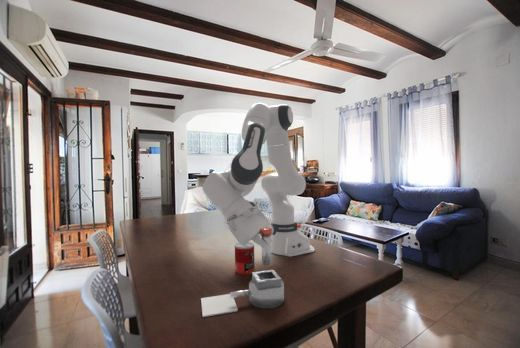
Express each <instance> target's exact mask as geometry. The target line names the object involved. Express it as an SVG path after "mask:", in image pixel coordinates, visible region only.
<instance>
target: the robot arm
mask: <svg viewBox="0 0 520 348" xmlns="http://www.w3.org/2000/svg"><path fill="white" fill-rule="evenodd" d="M293 122H294V113H293V111H292V107H290V106H289V105H288V104H284V103H283V104H282V103H281V104H278V105H277V104H276V105H269V106H268V105H267V104H265V103H262V102H257V103H254V104H252V106H250V108H249V110H248V112H247V113H246V115H245V118H244V120H243V123H242V127H241V138H242V140H243V141H244V142H243V145H242V148H241V150H240V151H239V152H238V153H237V154H236V155H235V156H234V157H233V158H232V161H231V164H230V170H227V171H216V170H214V171H211V172H210V173H209V174H208V175H207V176H206V177H205V178H204V180H203V182H202V191H203V193H204V194H205V196H206V198H207V199H208V200H209V201H210V203H211V204H213V206H214V207H215V208H217V209H218V210H219V211H220V213H221V215H222V216H223V217H224V218H225V219H226V224H227V226H228V229H229V231H230V233H231V235H232V236H233V237H234V238H235V239H236V241H237V243H240V244H242V245H245V244H247V243H248V242H250V241H252V242H253V243H255V244H257V245H258V246H260V247H261V249H262V248H263V249H265V248H266V247H267V246H268V243H267V242H266V241H265V240H263V239H262V235H261V234H260V229H261V228H268V226H269V225H270V224H271V225H270V228H272V234H271V254H273V255H279V256H285V257H290V258H292V257H295V256H300V255H305V254H309V253H314V252H315V247H314V246H313V245H311V243H310V240H309V237H308V236H307V235H305V234H304V233H303V232H302V231H301V230H299V229H301V227H302V224H300V223H296V221H295V208H294V205H293V204H292V203H291V202H290V201H289V200H288V197H289V196H290V197H291V196H292V197H293V196H298V195H302V194H303V193H304V191H305V190H306V188H307V187H306V186H307V183H306V179H305V177H304V176H303V175H302V174H300V172H299V171H298V169H297V168H296V166H295V165H294V162H293V158H292V152H291V145H290V138H289V134H288V130H289V128H291V127H292V125H293ZM265 143H266V146H267V156H268V157H267V158H268V163H269V164H270V165H272V167H274V168H275V171H276V172H272V173H268V174H265V175H264V176H263V177H262V179H261V183H260V184H261V188H262V190H263V192H265V193H266V196H267V197H268V200H269V204H270V207H271V223H270V220H269V219H268V218H267V217H266V216H265V215H266V214H264V213H263V212H262V211H261V210H260V209H259V208H257V206H258V205H257V204H256V203H255V202H254V201H250V200H248V199H245V198H244V197H246V196H248V195H249V194H250V193H251V192H252V191H253V190H254V188H255V186H256V184H257V182H258V181H259V178H260V177H261V175H262V174H263V171H264V166H263V165H264V164H263V161H262V156H261V152H262V147H263V145H264V144H265ZM287 196H288V197H287Z"/></svg>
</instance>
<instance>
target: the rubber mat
mask: <svg viewBox="0 0 520 348" xmlns="http://www.w3.org/2000/svg"><path fill="white" fill-rule="evenodd" d="M200 301H201V303H200V304H201V312H202V313H201V314H202V318H207V317H211V316H213V317H214V316H217V315H218V316H219V315H224V314H229V313H230V314H231V313H236V312H238V311H239V310H238V306H237V304H236V300H235V297H234V298H230V293H227V294H219V295H214V296H207V297H201V298H200Z"/></svg>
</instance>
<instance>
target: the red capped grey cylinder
mask: <svg viewBox="0 0 520 348" xmlns="http://www.w3.org/2000/svg"><path fill="white" fill-rule="evenodd" d="M260 234H261V235H262V236H261V235H260ZM260 234H259V235H260V236H261V239H263V240H265V241H266V242H267V243H268V246H267V247H266V248H265V249H263V248H262V247H261V264H262V265H263V266H271V265H272V264H273V263H272V253H271V239H272V228H271V227H266V228H261V229H260Z"/></svg>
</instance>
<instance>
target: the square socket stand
mask: <svg viewBox="0 0 520 348" xmlns="http://www.w3.org/2000/svg"><path fill="white" fill-rule="evenodd" d="M251 275H252V276H251V280H250V281H249V283H248V289H243V290H237V291H230V292H229V294H230V298H234V299H235V298H239V297H247V296H248V297H249V299H248V300H249V303H250V305H252V306H253V307H256V308H258V309H265V310H269V309H275V308H278V307H280V306H282V305H283V304H284V301H285V283H284V281H283V279H282V278H281V277H280V275H279V274H278V273H277V272H276V270H274V269H268V270H262V271H261V270H260V271H254V272H252V274H251Z"/></svg>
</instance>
